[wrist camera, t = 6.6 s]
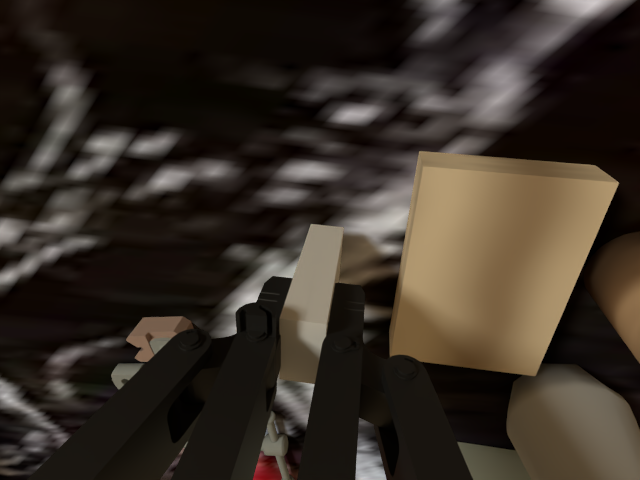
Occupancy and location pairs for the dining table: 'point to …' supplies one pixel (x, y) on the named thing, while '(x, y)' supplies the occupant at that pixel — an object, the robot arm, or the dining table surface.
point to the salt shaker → (572, 427)
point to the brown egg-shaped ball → (618, 286)
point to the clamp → (152, 339)
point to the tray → (493, 463)
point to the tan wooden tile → (493, 258)
